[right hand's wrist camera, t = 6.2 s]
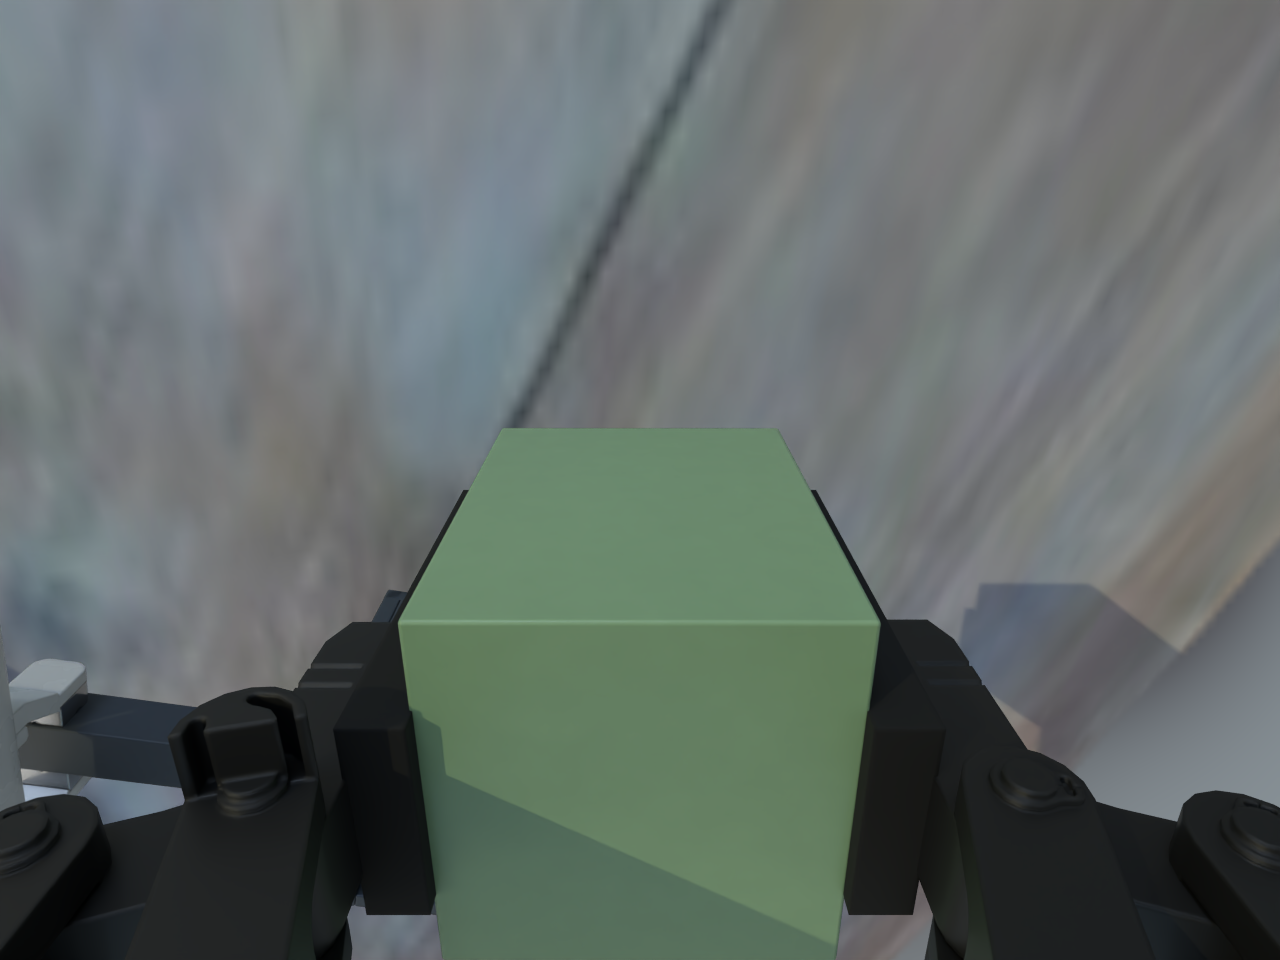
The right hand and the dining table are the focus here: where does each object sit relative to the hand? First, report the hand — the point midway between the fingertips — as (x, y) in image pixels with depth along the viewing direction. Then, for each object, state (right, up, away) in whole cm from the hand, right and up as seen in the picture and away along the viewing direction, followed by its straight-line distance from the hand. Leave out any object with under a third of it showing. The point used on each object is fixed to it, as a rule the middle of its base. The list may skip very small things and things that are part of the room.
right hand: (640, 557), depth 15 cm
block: (0, 0, 0) cm, 0 cm away
